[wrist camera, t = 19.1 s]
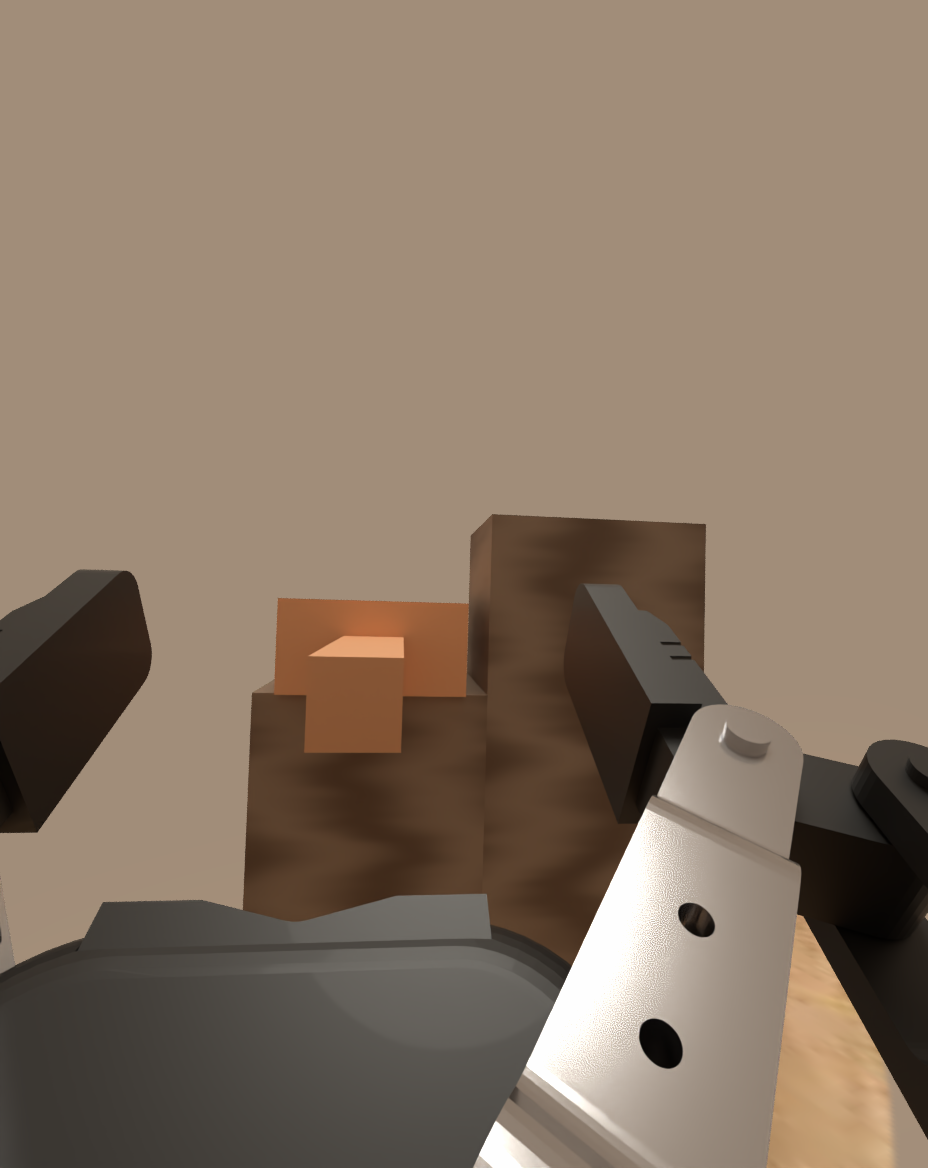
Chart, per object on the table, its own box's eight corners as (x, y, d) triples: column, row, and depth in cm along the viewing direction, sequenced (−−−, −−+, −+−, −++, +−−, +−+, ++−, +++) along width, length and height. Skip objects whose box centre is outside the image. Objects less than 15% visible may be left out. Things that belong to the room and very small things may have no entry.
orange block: (193, 752, 14) (200, 595, 14) (306, 671, 31) (309, 599, 31) (503, 752, 15) (507, 604, 15) (450, 673, 32) (452, 603, 32)
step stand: (227, 1289, 23) (260, 503, 24) (272, 1111, 31) (295, 528, 32) (696, 1243, 25) (705, 524, 26) (625, 1088, 33) (634, 542, 34)
